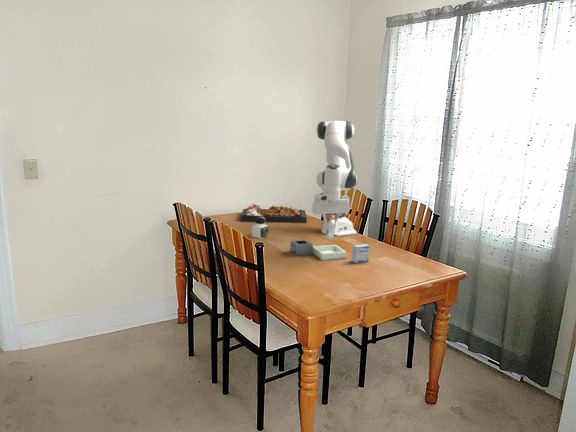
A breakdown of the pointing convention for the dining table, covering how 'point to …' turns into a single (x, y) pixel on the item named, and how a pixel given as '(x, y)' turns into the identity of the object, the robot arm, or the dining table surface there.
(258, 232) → the medicine bottle
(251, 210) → the food platter
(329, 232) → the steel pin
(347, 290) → the dining table surface
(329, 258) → the tray
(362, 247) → the medicine box
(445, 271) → the dining table surface
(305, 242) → the block
